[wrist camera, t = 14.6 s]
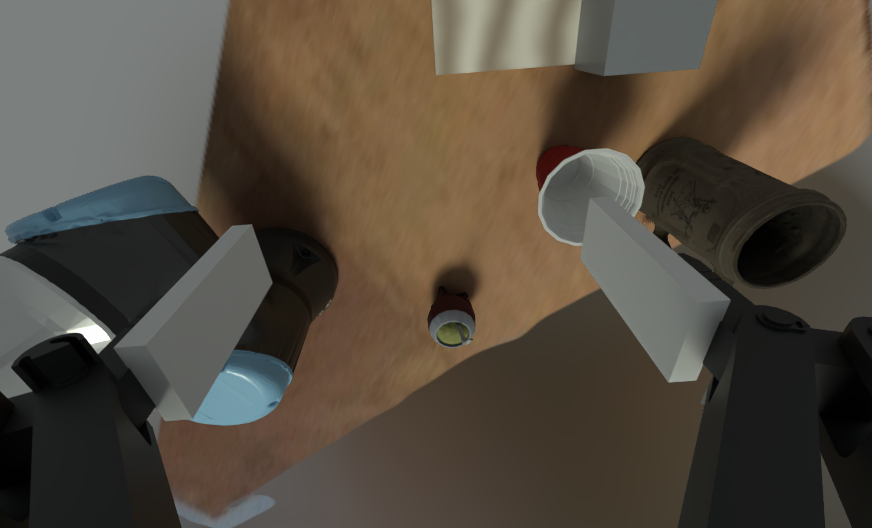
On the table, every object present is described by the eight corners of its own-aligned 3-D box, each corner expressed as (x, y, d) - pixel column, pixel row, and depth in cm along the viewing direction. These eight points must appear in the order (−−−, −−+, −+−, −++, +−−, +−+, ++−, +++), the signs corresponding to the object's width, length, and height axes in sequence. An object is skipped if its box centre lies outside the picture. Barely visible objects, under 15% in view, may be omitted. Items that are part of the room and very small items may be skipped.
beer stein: (646, 127, 47) (765, 197, 31) (727, 133, 48) (885, 203, 31) (605, 233, 56) (680, 330, 40) (674, 236, 57) (776, 333, 40)
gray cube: (573, 69, 42) (603, 76, 35) (585, -32, 37) (622, -47, 31) (654, 62, 42) (699, 68, 35) (675, -40, 37) (732, -56, 31)
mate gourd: (439, 323, 62) (444, 398, 50) (416, 289, 59) (416, 360, 46) (480, 306, 61) (496, 379, 48) (460, 270, 57) (472, 338, 44)
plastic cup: (524, 119, 46) (554, 144, 36) (609, 128, 47) (662, 154, 37) (507, 202, 52) (529, 244, 41) (583, 208, 53) (622, 250, 42)
